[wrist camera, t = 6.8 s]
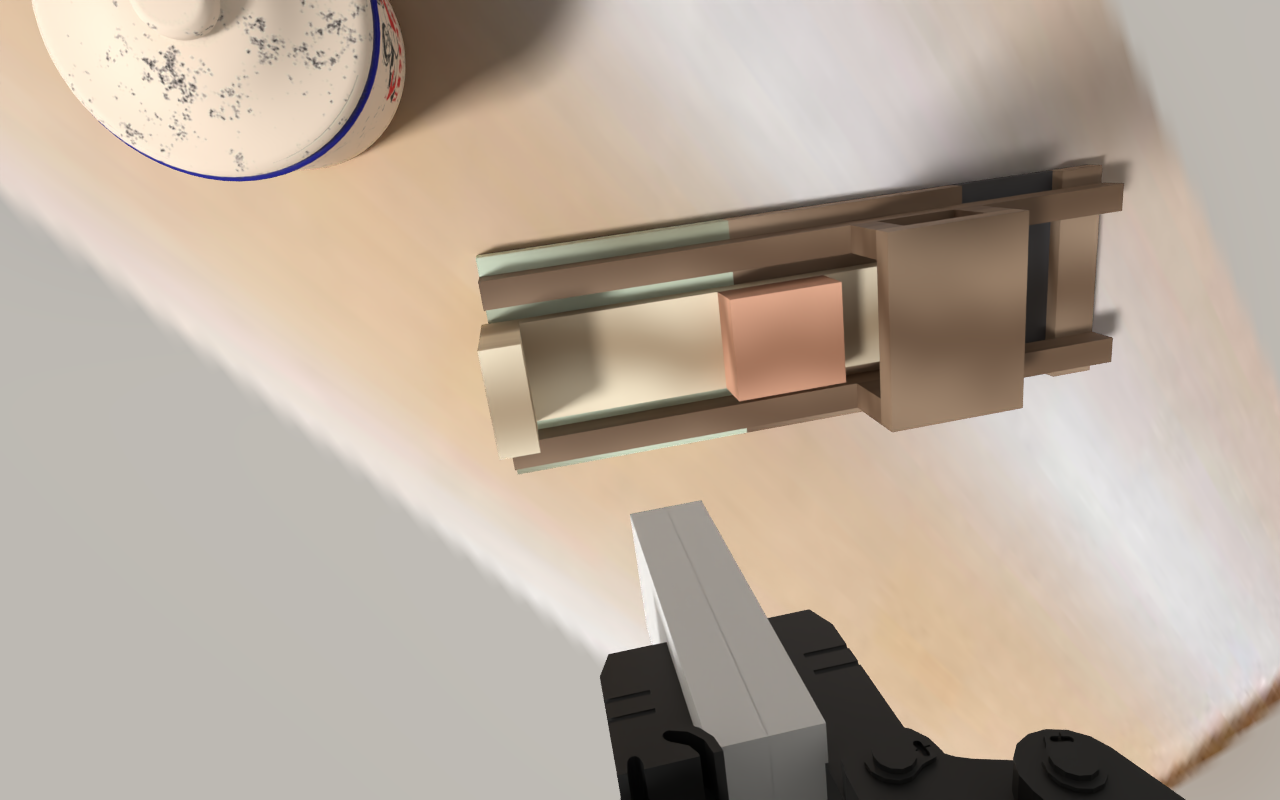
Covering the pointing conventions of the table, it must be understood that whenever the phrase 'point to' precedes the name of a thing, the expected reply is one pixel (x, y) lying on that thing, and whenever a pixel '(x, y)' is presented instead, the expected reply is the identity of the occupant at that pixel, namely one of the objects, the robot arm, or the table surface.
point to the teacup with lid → (232, 78)
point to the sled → (678, 349)
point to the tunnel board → (907, 303)
